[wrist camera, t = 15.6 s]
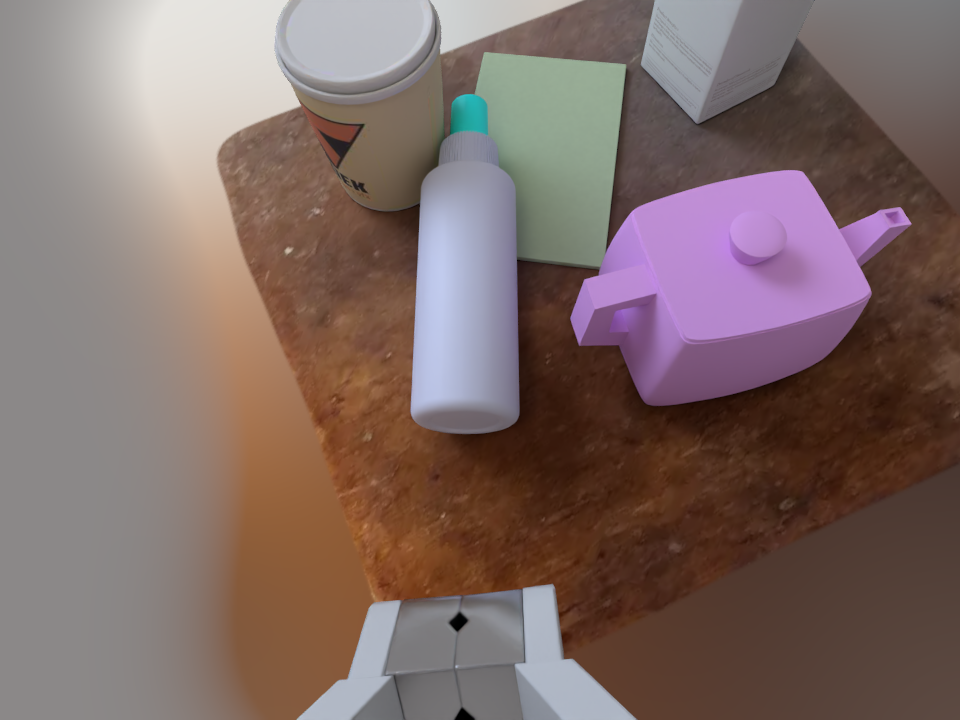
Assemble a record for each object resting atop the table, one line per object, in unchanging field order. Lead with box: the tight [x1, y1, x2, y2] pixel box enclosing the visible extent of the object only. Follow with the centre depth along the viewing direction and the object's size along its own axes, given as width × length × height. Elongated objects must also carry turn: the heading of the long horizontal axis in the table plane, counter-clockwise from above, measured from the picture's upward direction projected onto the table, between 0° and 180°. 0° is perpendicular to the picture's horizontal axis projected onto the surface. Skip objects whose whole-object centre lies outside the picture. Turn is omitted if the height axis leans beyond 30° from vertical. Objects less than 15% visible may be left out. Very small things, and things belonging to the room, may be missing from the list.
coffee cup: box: [275, 0, 445, 211], centre depth 40 cm, size 9×9×12 cm
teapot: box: [570, 170, 911, 406], centre depth 35 cm, size 18×10×10 cm, turn 104°
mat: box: [475, 52, 626, 270], centre depth 45 cm, size 11×18×1 cm, turn 170°
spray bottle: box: [411, 94, 519, 434], centre depth 38 cm, size 6×6×22 cm
